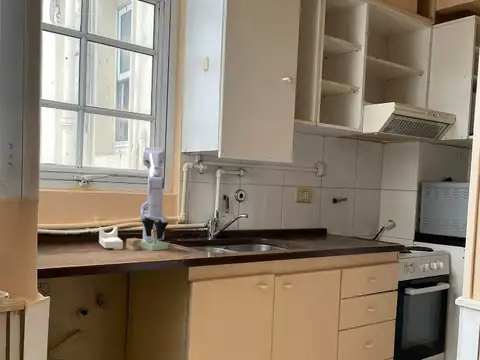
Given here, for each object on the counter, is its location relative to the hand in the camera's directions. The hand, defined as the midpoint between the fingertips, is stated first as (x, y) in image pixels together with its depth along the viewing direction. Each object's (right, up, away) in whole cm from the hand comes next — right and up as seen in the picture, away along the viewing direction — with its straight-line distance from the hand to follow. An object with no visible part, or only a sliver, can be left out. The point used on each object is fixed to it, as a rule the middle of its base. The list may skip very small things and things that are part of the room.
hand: (154, 237), depth 194 cm
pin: (0, -4, 0) cm, 4 cm away
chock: (-8, -4, -3) cm, 10 cm away
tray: (0, -4, 0) cm, 4 cm away
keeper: (-7, -4, +5) cm, 10 cm away
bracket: (-18, -4, -1) cm, 19 cm away
